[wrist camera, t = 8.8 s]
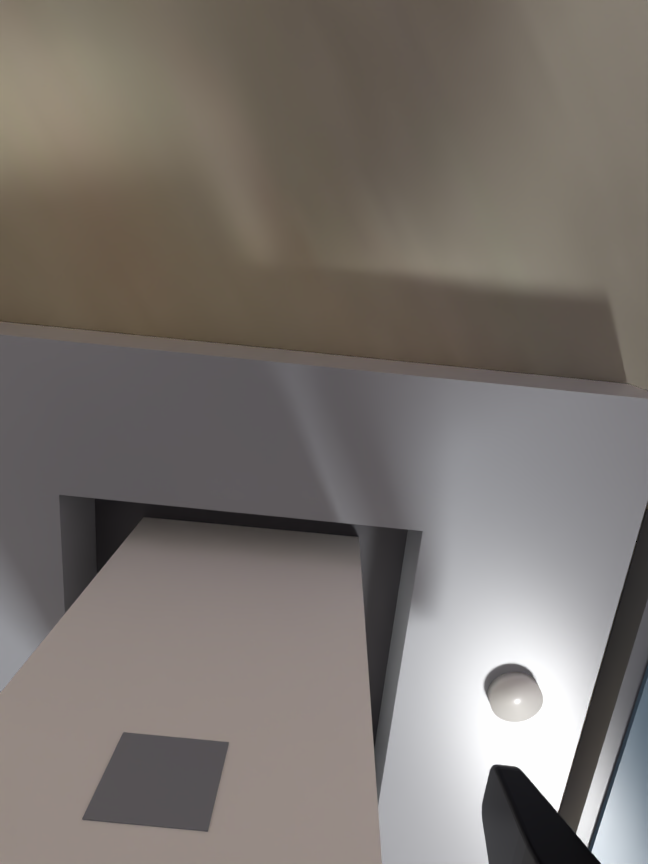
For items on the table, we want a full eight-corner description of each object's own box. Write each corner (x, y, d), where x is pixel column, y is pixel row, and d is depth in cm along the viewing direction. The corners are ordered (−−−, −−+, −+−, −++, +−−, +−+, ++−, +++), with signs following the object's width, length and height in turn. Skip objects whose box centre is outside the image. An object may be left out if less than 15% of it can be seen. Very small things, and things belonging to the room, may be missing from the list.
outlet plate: (628, 383, 10) (683, 404, 9) (508, 848, 14) (530, 926, 12) (-104, 311, 10) (-188, 318, 9) (-42, 792, 14) (-94, 864, 12)
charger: (359, 536, 11) (387, 934, 4) (338, 712, 12) (336, 1228, 6) (143, 516, 11) (-156, 881, 4) (145, 694, 12) (-86, 1189, 6)
